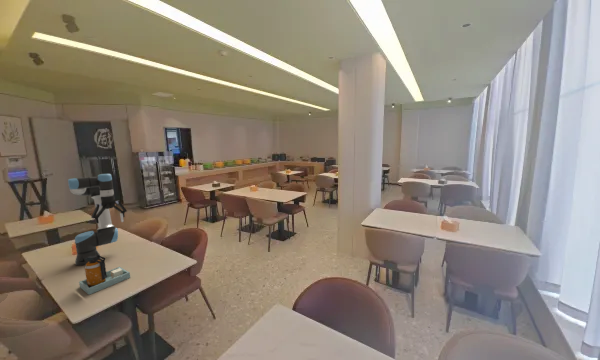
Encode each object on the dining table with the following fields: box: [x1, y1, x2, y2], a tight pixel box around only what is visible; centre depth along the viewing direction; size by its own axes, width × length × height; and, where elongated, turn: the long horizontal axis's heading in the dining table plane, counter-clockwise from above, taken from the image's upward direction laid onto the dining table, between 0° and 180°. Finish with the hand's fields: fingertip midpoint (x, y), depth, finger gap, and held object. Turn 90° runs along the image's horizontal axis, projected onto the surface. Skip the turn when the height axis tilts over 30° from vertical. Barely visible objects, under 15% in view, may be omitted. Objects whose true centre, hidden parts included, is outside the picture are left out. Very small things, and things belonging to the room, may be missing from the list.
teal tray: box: [78, 266, 131, 296], centre depth 154 cm, size 16×22×4 cm
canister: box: [84, 254, 108, 288], centre depth 150 cm, size 9×11×20 cm
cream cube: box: [111, 268, 123, 279], centre depth 159 cm, size 5×5×5 cm
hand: (111, 224), depth 168 cm, fingers open, 13 cm apart
